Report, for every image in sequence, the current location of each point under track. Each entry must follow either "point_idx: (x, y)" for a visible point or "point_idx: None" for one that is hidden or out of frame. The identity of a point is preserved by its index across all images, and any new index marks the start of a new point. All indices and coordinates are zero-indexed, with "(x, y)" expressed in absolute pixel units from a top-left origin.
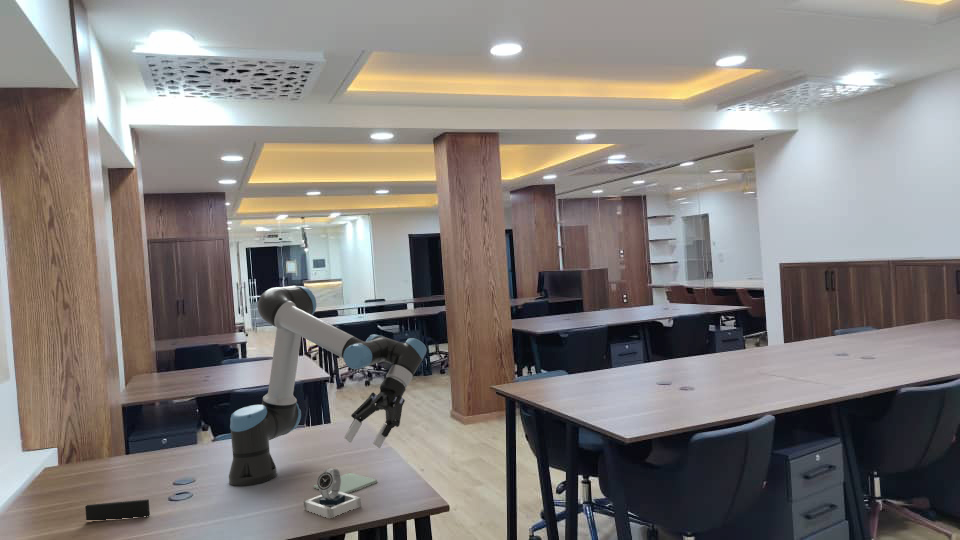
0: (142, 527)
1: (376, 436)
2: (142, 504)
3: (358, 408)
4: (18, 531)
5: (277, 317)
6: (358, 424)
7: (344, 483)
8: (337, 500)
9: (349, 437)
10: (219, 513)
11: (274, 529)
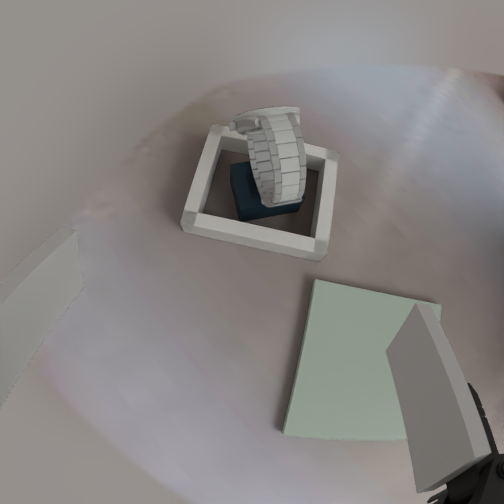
0: (483, 80)
1: (42, 260)
2: None
3: None
4: None
5: None
6: (433, 460)
7: (372, 362)
8: (231, 169)
9: (408, 341)
10: (464, 125)
11: (299, 76)
